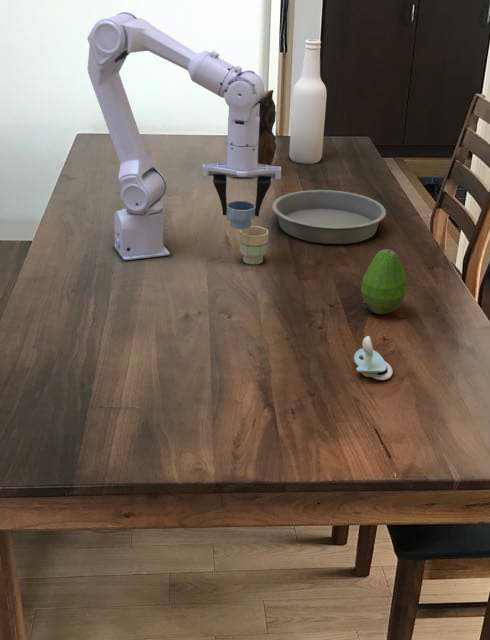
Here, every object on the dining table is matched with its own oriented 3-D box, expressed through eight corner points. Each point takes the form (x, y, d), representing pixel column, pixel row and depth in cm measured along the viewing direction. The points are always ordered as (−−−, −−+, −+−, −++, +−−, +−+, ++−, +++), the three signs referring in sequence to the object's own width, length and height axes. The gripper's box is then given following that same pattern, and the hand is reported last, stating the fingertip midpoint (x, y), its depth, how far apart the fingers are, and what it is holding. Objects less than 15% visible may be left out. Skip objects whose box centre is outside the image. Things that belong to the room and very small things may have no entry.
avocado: (368, 323, 156) (376, 259, 149) (352, 304, 162) (358, 242, 156) (410, 319, 158) (419, 256, 151) (392, 301, 164) (401, 239, 158)
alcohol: (327, 158, 241) (336, 40, 225) (311, 166, 234) (320, 44, 218) (299, 152, 244) (306, 36, 229) (282, 160, 238) (289, 40, 222)
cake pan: (355, 204, 209) (357, 185, 207) (403, 242, 190) (405, 221, 187) (256, 212, 202) (257, 192, 200) (295, 252, 183) (296, 231, 180)
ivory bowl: (239, 255, 174) (239, 235, 172) (239, 244, 179) (240, 225, 177) (267, 256, 175) (268, 236, 173) (267, 245, 179) (268, 226, 177)
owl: (276, 167, 232) (280, 87, 222) (269, 182, 221) (273, 99, 211) (228, 163, 233) (230, 84, 223) (219, 178, 223) (221, 95, 212)
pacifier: (388, 362, 144) (351, 360, 144) (394, 327, 141) (356, 325, 141) (395, 385, 138) (356, 383, 138) (401, 349, 135) (362, 347, 134)
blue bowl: (225, 230, 169) (226, 210, 167) (226, 220, 174) (226, 200, 172) (255, 231, 170) (255, 211, 168) (254, 221, 174) (255, 201, 172)
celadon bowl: (238, 265, 176) (239, 246, 174) (239, 254, 180) (239, 236, 178) (267, 266, 176) (268, 247, 174) (266, 255, 180) (267, 236, 178)
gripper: (202, 147, 160) (201, 220, 167) (283, 150, 160) (279, 222, 167) (204, 136, 166) (203, 207, 173) (281, 139, 166) (277, 209, 173)
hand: (240, 214), depth 171 cm, fingers closed on blue bowl, 5 cm apart
